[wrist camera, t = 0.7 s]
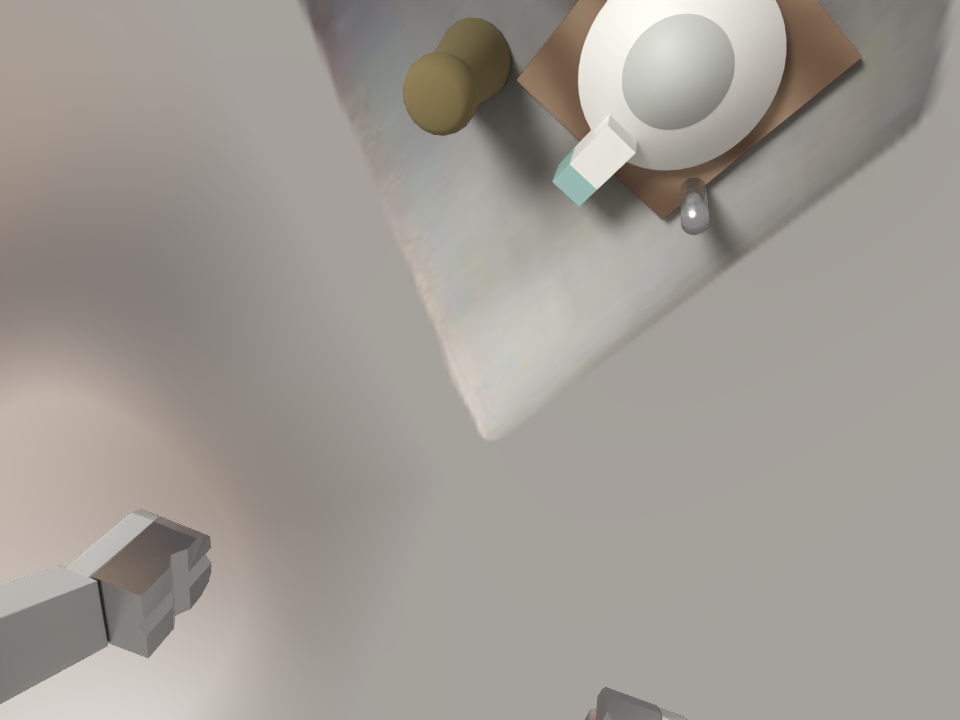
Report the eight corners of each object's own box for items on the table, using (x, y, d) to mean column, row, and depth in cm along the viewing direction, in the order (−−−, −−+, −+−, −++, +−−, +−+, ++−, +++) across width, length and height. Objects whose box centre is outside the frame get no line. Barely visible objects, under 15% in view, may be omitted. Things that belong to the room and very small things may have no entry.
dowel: (694, 167, 46) (697, 205, 41) (710, 184, 47) (715, 222, 42) (674, 184, 48) (675, 222, 43) (690, 200, 48) (693, 239, 43)
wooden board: (695, -149, 34) (696, -150, 33) (859, 53, 39) (863, 57, 38) (518, 76, 45) (516, 80, 44) (662, 214, 50) (662, 221, 49)
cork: (507, 13, 42) (469, 47, 34) (514, 97, 46) (482, 146, 38) (432, 22, 44) (380, 56, 36) (445, 102, 48) (401, 150, 40)
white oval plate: (692, -104, 35) (694, -101, 32) (828, 60, 38) (840, 75, 36) (510, 118, 46) (500, 134, 44) (628, 228, 50) (626, 249, 47)
